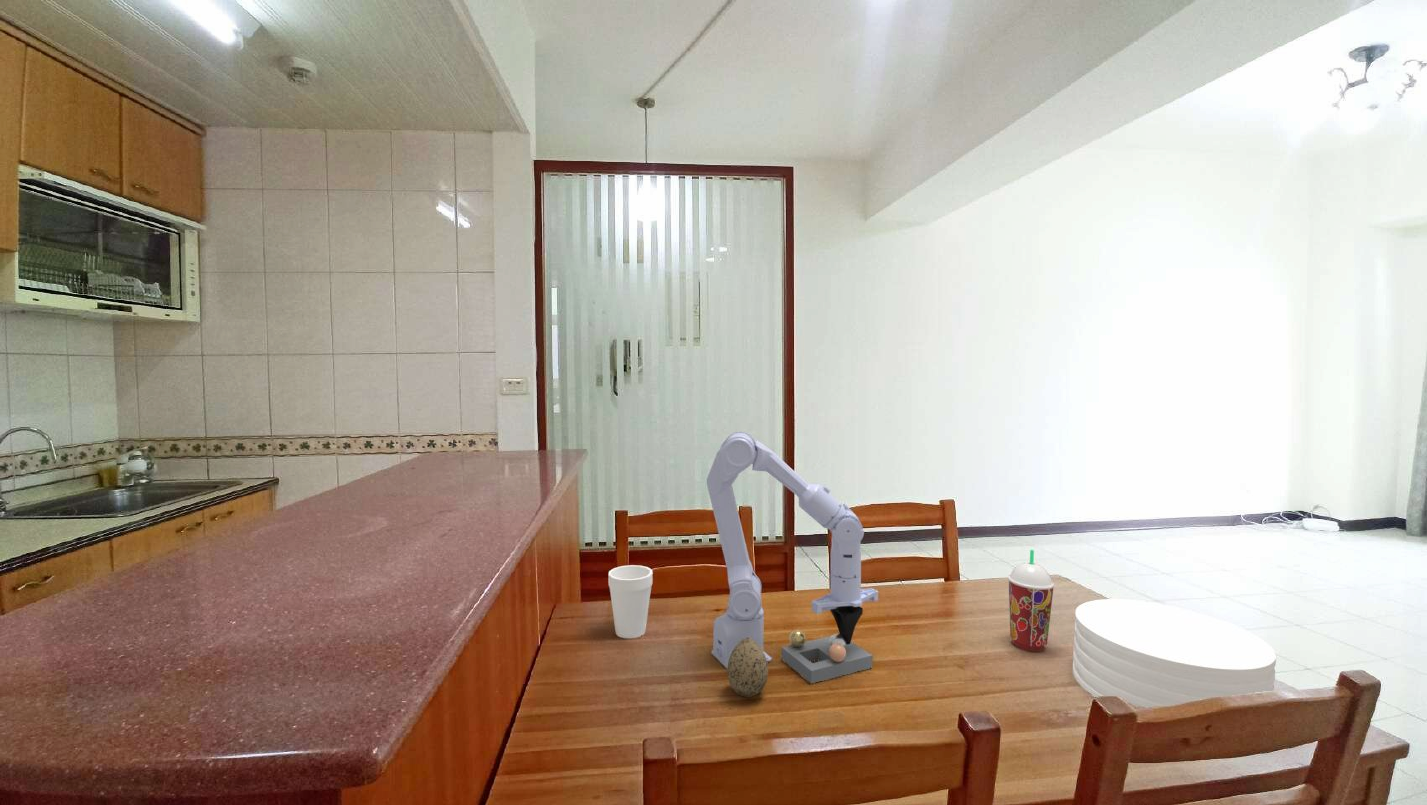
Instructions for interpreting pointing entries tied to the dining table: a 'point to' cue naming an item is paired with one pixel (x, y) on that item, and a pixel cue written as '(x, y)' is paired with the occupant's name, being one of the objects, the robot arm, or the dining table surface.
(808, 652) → the grey tray with hole
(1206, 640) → the plate stack
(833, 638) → the steel ball
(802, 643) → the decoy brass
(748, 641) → the decorative egg
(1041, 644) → the smoothie
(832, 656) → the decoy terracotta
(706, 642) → the dining table surface
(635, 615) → the foam cup
